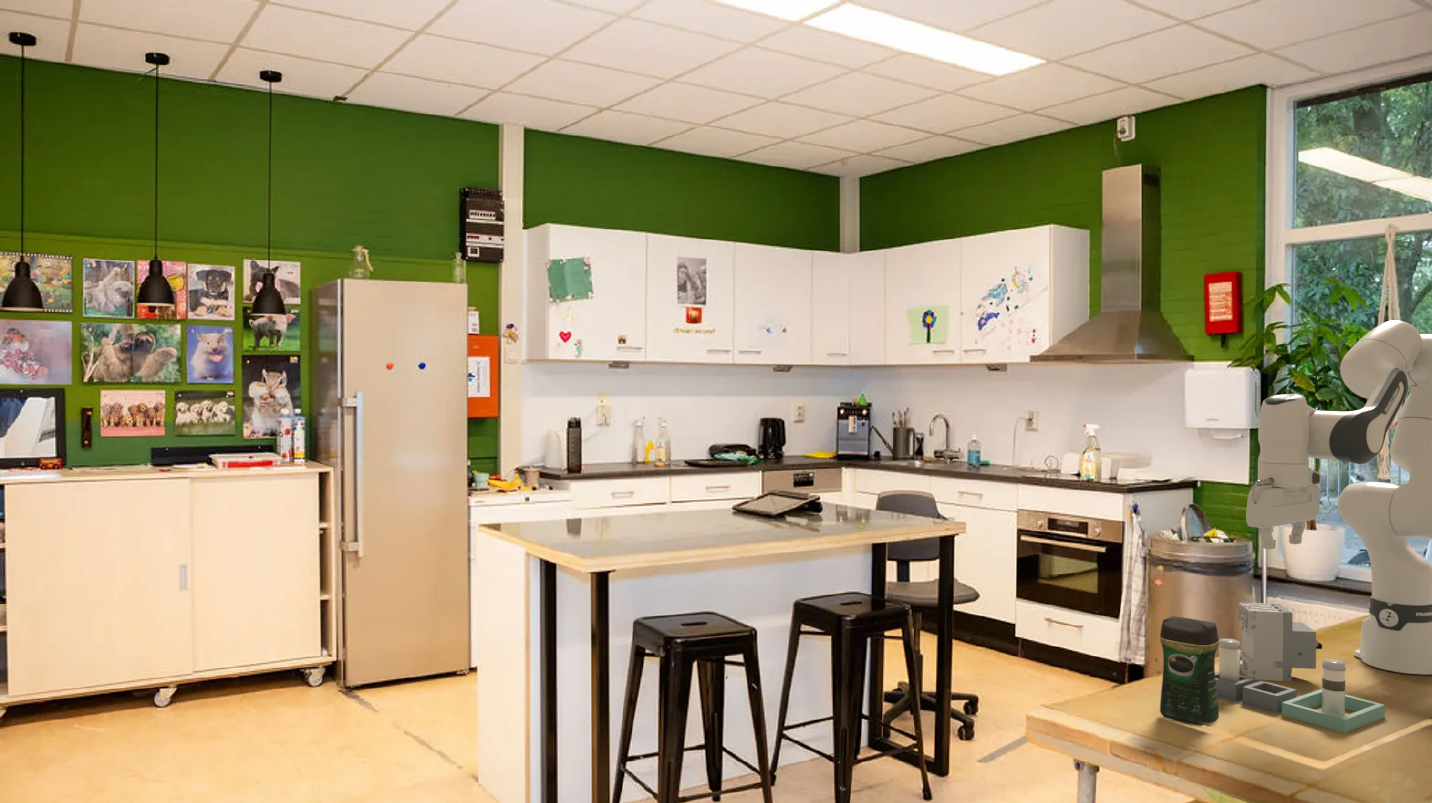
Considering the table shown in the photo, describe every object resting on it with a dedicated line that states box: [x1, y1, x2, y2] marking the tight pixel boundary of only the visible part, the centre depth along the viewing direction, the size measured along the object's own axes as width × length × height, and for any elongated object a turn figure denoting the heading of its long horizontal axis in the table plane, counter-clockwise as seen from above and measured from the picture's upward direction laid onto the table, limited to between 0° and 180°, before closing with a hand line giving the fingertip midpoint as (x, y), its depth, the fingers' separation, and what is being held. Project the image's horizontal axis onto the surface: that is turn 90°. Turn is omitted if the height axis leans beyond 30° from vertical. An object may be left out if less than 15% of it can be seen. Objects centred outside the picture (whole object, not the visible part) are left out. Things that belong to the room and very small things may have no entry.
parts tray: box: [1281, 688, 1386, 734], centre depth 187 cm, size 14×11×3 cm
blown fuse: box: [1321, 658, 1347, 717], centre depth 187 cm, size 4×4×10 cm
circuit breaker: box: [1237, 602, 1323, 682], centre depth 211 cm, size 8×14×15 cm, turn 78°
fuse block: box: [1215, 671, 1298, 715], centre depth 197 cm, size 9×15×4 cm, turn 32°
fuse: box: [1218, 638, 1241, 683], centre depth 200 cm, size 4×4×10 cm
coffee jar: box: [1159, 615, 1220, 726], centre depth 189 cm, size 10×8×19 cm
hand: (1282, 546), depth 203 cm, fingers open, 8 cm apart
